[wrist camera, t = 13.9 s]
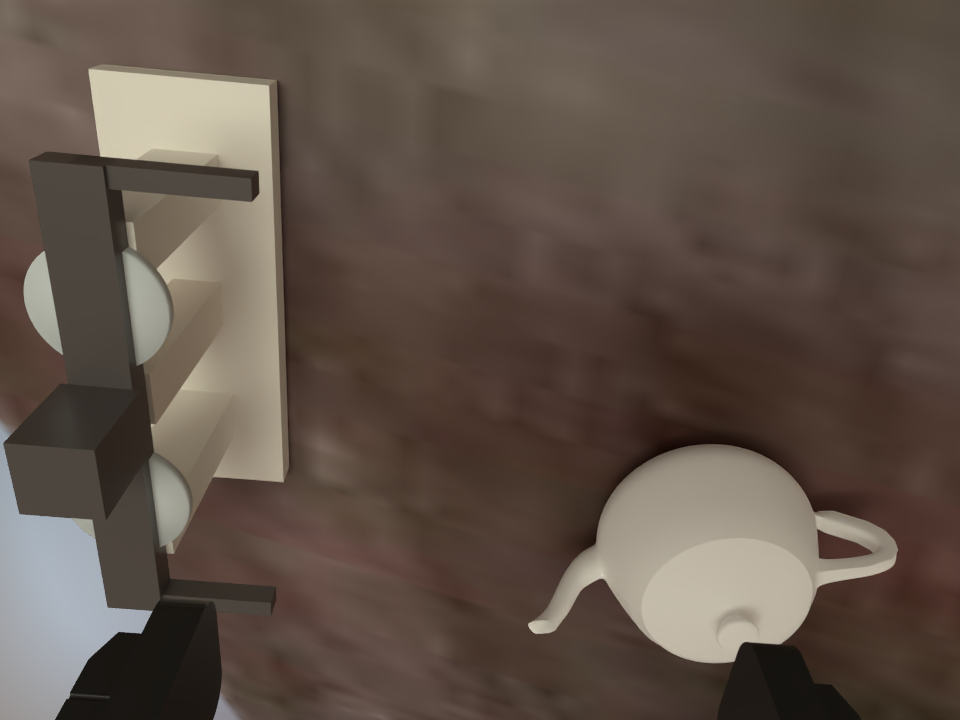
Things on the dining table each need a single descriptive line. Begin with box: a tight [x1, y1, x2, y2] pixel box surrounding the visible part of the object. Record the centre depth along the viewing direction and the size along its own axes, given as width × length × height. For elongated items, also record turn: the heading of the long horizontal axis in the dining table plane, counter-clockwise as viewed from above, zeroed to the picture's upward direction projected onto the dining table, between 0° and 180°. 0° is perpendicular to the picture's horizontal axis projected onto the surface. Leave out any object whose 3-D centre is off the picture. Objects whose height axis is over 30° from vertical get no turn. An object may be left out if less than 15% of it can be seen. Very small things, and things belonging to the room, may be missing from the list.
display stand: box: [88, 64, 289, 554], centre depth 37 cm, size 22×8×12 cm, turn 175°
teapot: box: [528, 444, 898, 663], centre depth 44 cm, size 20×12×10 cm, turn 101°
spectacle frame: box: [3, 152, 276, 616], centre depth 30 cm, size 20×9×5 cm, turn 175°
